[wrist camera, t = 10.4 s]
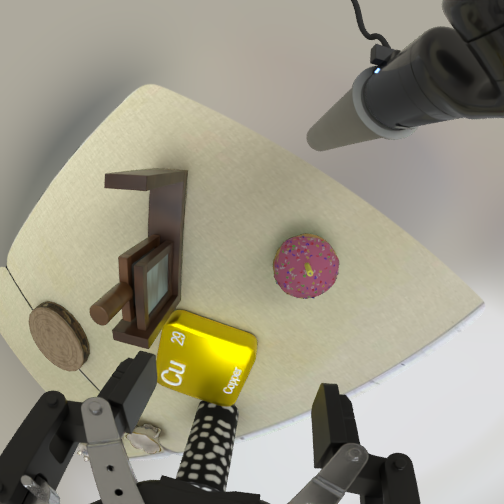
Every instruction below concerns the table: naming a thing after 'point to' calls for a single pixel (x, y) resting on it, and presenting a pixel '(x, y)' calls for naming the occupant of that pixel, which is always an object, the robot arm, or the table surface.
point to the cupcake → (305, 266)
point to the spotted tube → (209, 447)
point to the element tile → (204, 358)
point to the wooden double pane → (155, 252)
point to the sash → (123, 285)
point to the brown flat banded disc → (59, 336)
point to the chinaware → (135, 440)
